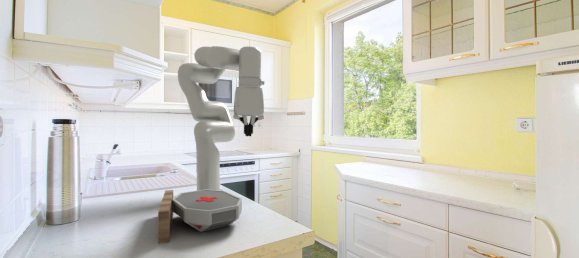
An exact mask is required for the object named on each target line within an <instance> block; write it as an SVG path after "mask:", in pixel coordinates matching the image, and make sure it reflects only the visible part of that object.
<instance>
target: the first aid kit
mask: <svg viewBox="0 0 579 258" xmlns="http://www.w3.org/2000/svg"><path fill="white" fill-rule="evenodd" d="M242 211H243V198H242V197H239V196H237V195H235V194H232V193H231V192H228V191H225V190H223V191H220V190H207V189H205V190H198V191H197V190H193V191H192V190H191V191H184V192H180V193H178V194H177V195H176V196H173V199H172V212H174V213H173V214H175V215H177V216H179V217H180V218H181V219H182V220H183V222H184V223H186V224H188V225H189V226H190V227H192V228H194V229H195V230H197V231H198V232H199V233H202V232H206V231H210V230H213V229H218V228H222V227H226V226H231V225H232V224H233V223H234V222H236V221H237V220H239V219H240V217H241V214H242Z"/></svg>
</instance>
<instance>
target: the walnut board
mask: <svg viewBox="0 0 579 258" xmlns="http://www.w3.org/2000/svg"><path fill="white" fill-rule="evenodd" d="M173 198H174V190H173V189H169V190H165V191H164V194H163V197H162V200H161V203H160V206H159V209H158V215H157V216H158V217H157V218H158V222H157V223H158V225H157V226H158V244H163V243H170V240H171V239H170V238H171V231H172V225H173V220H174V214H175V213H174V212H172V199H173Z"/></svg>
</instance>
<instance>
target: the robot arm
mask: <svg viewBox="0 0 579 258" xmlns="http://www.w3.org/2000/svg"><path fill="white" fill-rule="evenodd" d="M193 56H194V61H195V62H196V63H193V62H191V63H190V62H188V63H187V62H186V63H182V64H181V65H180V66H179V67H178V69H177V81H178V84H179V87H180V89H181V91H182V92H183V94H184V95H185V98H186V101H187V104H188V106H189V110H190V113H191V116H192V118H193V120H194V121H196V122H197V123H196V124H195V126H194V127H193V136H194V141H195V150H196V191H198V190H205V189H207V190H220V191H224V189H221V184H220V183H221V177H220V176H221V174H220V173H221V172H220V170H221V169H220V167H221V166H220V165H221V164H220V163H221V162H220V161H221V160H220V158H221V157H220V155H221V154H220V151H219V149H218V147H217V146H216V144H217V143H218V144H219V143H229V142H232V141H233V140H234V138H235V135H236V129H235V125H234V123H233V119H234V120H238V121H240V122H241V123H242V124H243V134H244V136H245V137H252V135H253V134H254V125H255V124H256V123H257V122H258V121H261V120H262V121H263V120H264V119H265V118H264V112H265V105H264V104H265V103H264V101H265V100H264V93H263V88H262V87H261V86H265V80H262V78H261V77H262V75H261V72H262V71H261V69H262V50H261V49H260V48H259V47H257V46H242V47H241V48H240V49H237V48H232V47H227V46H216V45H215V46H214V45H212V46H201V47H198V48H197V49H196V50H195V52H194V55H193ZM226 70H231V71H235V72H238V86H236V88H235V92H234V101H233V116H232V118H233V119H232V118H231V114H230V111H229V110H228V107H227V106H226V104H225V103H224V102H222V101H219V100H218V101H217V100H214V101H213V100H209V98H207V94H206V92H205V90H204V89H203V88H202V87H201V86H200V85H198V84H206V85H211V84H212V85H214V84H215V83H217V82H218V80H219V79H220V78H221V76H222V75H223V73H224V72H225V71H226ZM248 117H250V118H249V122H248Z"/></svg>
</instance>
